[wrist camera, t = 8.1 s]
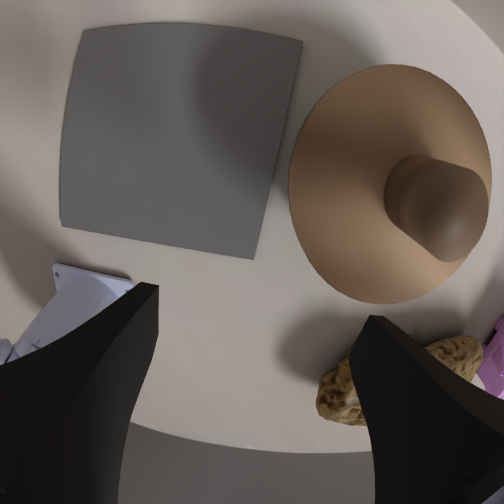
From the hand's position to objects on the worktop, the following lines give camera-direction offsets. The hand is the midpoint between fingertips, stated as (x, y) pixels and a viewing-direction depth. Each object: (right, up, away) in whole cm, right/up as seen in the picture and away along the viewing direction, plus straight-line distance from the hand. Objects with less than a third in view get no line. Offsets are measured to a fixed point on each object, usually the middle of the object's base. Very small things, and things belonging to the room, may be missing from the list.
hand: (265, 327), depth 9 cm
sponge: (+17, -10, +17) cm, 26 cm away
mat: (-6, +10, +7) cm, 13 cm away
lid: (+8, +6, +4) cm, 10 cm away
